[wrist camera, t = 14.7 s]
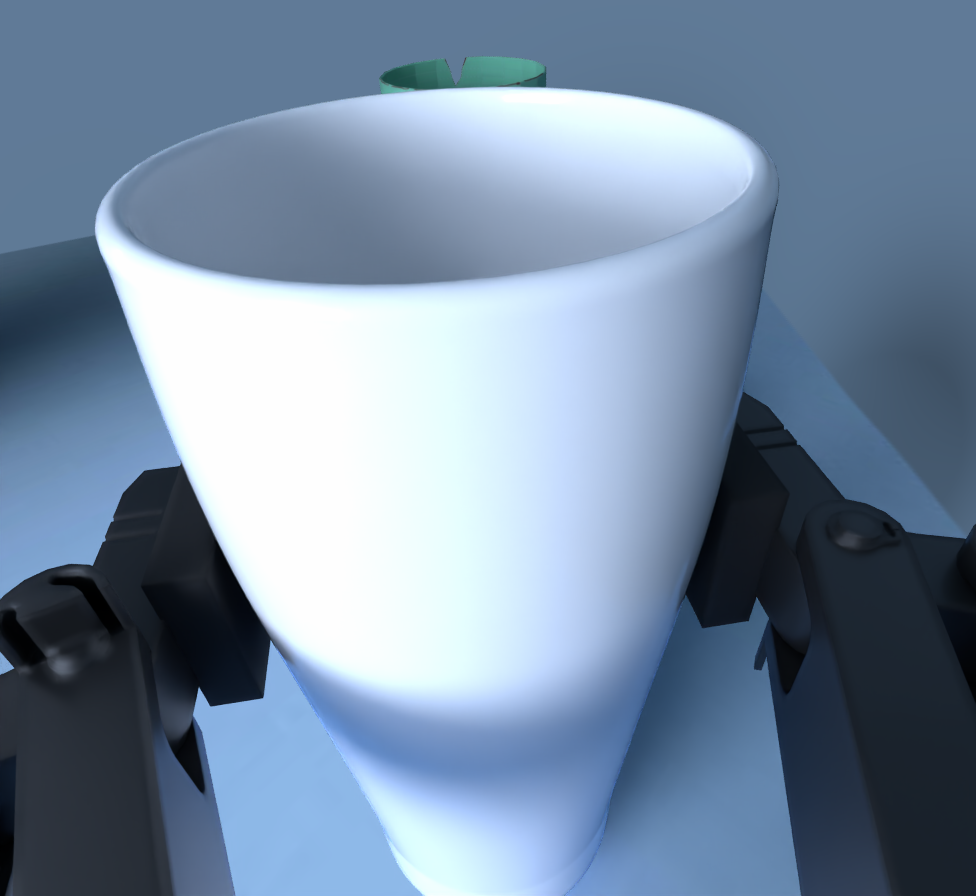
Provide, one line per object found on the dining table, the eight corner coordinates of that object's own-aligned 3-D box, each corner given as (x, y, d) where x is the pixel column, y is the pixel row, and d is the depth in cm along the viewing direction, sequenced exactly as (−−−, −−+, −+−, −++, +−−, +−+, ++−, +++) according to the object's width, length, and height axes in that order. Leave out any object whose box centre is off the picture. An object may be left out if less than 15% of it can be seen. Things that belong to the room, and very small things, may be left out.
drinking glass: (572, 649, 19) (606, 66, 10) (691, 907, 14) (991, 212, 5) (340, 716, 18) (128, 118, 9) (380, 1027, 13) (-32, 392, 4)
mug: (480, 202, 50) (472, 51, 44) (575, 236, 45) (582, 67, 38) (310, 260, 43) (272, 90, 37) (397, 310, 37) (369, 117, 31)
